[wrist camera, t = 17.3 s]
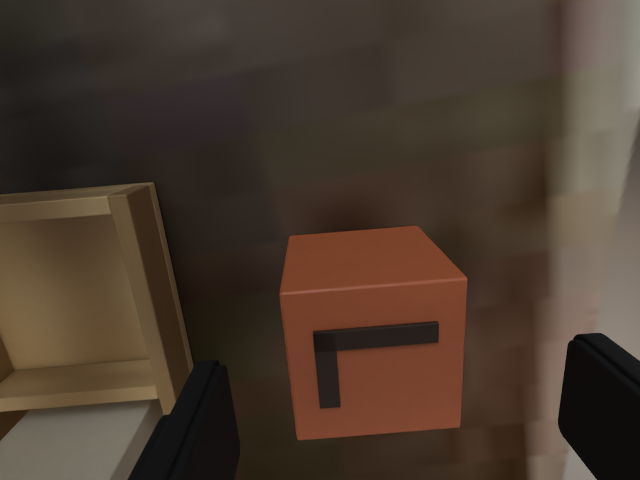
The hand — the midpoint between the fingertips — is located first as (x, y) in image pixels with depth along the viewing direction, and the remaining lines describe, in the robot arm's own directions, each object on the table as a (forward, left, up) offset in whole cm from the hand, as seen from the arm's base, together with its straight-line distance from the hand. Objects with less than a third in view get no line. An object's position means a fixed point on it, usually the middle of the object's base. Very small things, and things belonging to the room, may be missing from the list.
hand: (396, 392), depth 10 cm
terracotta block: (-1, 0, -6) cm, 6 cm away
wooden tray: (-6, -11, -6) cm, 14 cm away
